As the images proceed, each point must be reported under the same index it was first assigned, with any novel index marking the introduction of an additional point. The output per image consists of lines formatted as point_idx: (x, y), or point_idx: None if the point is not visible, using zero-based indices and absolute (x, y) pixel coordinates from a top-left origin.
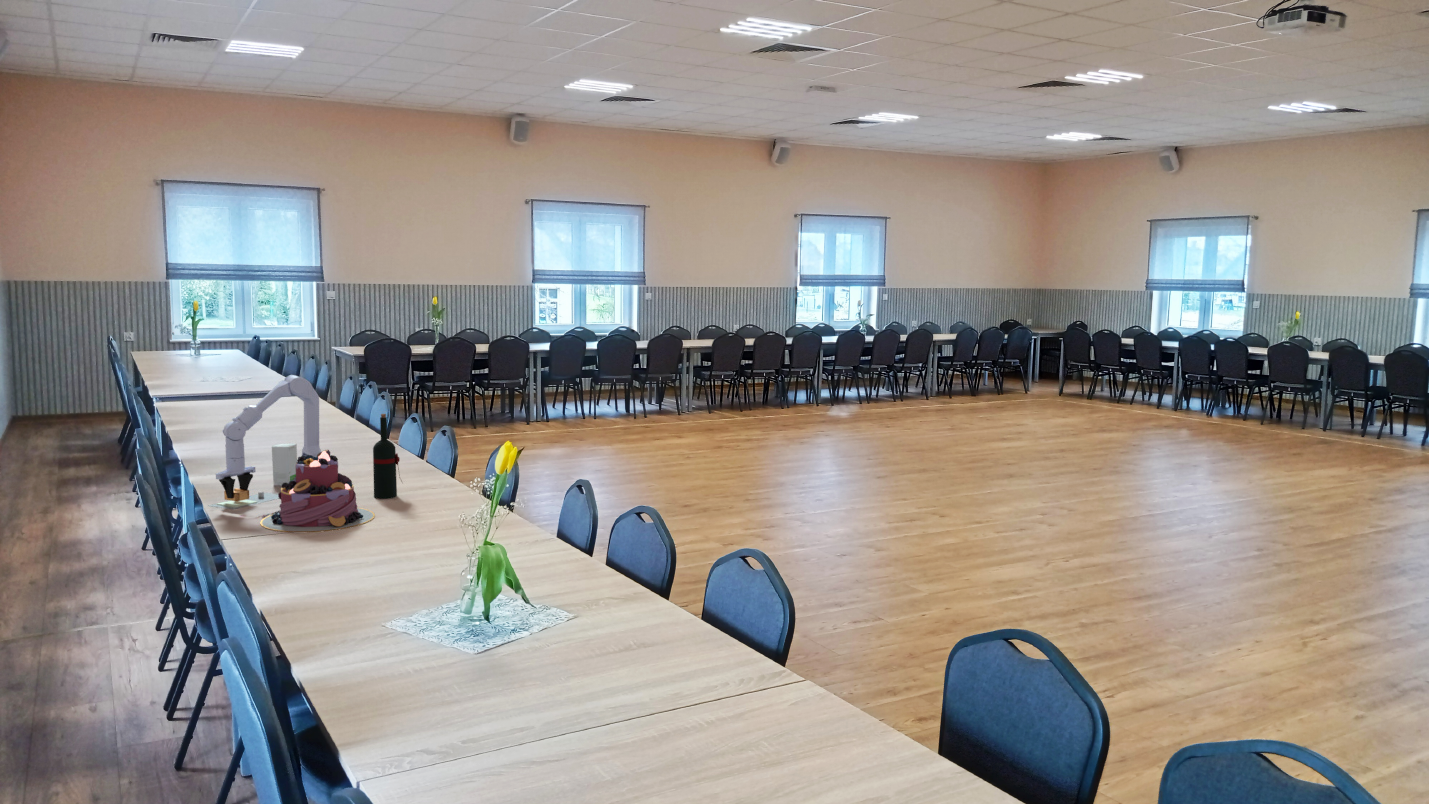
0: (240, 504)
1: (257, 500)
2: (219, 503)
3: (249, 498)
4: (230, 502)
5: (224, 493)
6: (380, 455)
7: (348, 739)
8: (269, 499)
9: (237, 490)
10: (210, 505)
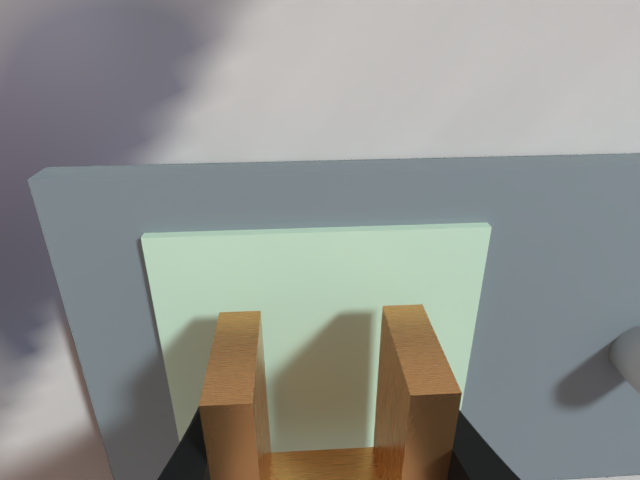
0: (274, 449)
1: (513, 407)
2: (174, 251)
3: (576, 277)
4: (285, 310)
5: (207, 374)
6: None
7: None
8: (585, 451)
9: (399, 436)
10: (64, 205)
